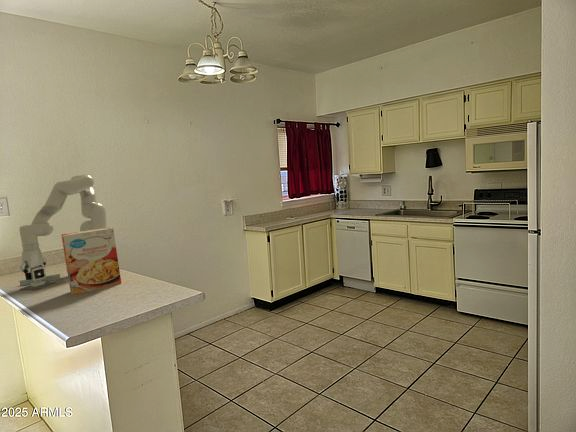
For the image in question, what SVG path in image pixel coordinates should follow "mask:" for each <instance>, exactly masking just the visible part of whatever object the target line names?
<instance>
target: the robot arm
mask: <svg viewBox="0 0 576 432" xmlns="http://www.w3.org/2000/svg"><path fill="white" fill-rule="evenodd" d="M94 184H95V180H94V178H93V177H92V176H91V175H90V174H81V175H74V176H72V177H71V178H70V179H68V180H62V181H58V182H56V183H55V184H54V185H53V188H52V189H51V191H50V193H49V195H48V197H47V199H46V201H45V204H43V206H42V207H41V208H40V209H39V211H38V212H37V213H36V214H35V216H34V218H33V220H32V222H31V223H30V224H26V225H21V226H20V227H19V234H20V241H21V246H22V251H21V263H22V264H21V265H20V266H19V268H20V270H21V271H22V272H23V274H24V275H25V279H26V280H32V276H31V272H30V270H31V268H35V267H38V266H40V267H44V268H46V264H47V258H45V257H43V254H42V251H41V248H40V243H39V240H38V237H47V236H49V235H51V234H52V233H53V231H54V226H53V225H52V223H49V220H50V219H51V218H52V217H53V216H54V215H56V214H57V213H59V212H60V211H61V210H62V209H63V207H64V205H65V202H66V199H67V197H68V196H72V195H76V194H79V196H80V206H81V215H82V216H83V217H84V218H86V219H90V220H85V221H83V222H82V223H81V225H80V226H79V228H80V229H79V232H82V231H88V230H95V229H101V228H107V211H106V208H105V206H104V205H103V204H102V203H99V202H97V195H96V191H95V190H94V188H93V186H94Z"/></svg>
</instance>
